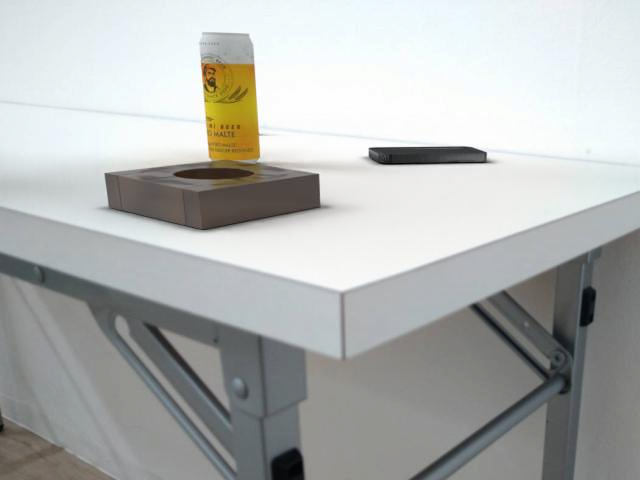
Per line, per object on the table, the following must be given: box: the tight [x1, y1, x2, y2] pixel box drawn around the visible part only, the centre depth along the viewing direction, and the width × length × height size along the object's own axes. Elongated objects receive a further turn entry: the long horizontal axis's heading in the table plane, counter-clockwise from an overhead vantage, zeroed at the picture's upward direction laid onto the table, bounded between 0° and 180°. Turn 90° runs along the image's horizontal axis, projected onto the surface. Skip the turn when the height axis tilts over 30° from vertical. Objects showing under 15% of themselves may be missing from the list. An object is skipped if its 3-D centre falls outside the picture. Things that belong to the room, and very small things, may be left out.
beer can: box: [198, 31, 261, 164], centre depth 89 cm, size 6×6×15 cm
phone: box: [368, 145, 488, 164], centre depth 100 cm, size 8×1×15 cm
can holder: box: [104, 159, 321, 230], centre depth 66 cm, size 13×13×3 cm
